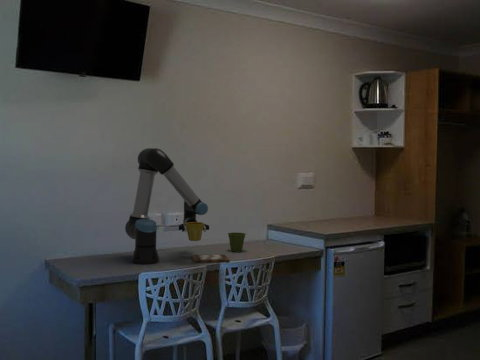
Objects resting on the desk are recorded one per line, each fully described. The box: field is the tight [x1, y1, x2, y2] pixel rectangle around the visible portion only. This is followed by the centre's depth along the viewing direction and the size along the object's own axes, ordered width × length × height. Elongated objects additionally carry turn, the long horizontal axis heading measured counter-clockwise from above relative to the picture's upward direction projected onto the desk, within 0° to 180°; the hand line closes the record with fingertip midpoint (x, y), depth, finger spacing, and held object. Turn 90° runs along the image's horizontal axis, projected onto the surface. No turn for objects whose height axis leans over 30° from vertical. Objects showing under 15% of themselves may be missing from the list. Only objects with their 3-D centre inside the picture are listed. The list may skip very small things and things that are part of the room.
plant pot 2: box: [227, 231, 247, 253], centre depth 327 cm, size 12×12×11 cm
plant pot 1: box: [186, 221, 205, 242], centre depth 289 cm, size 10×10×10 cm
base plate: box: [191, 254, 231, 264], centre depth 296 cm, size 20×16×2 cm
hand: (195, 229), depth 285 cm, fingers closed on plant pot 1, 10 cm apart
